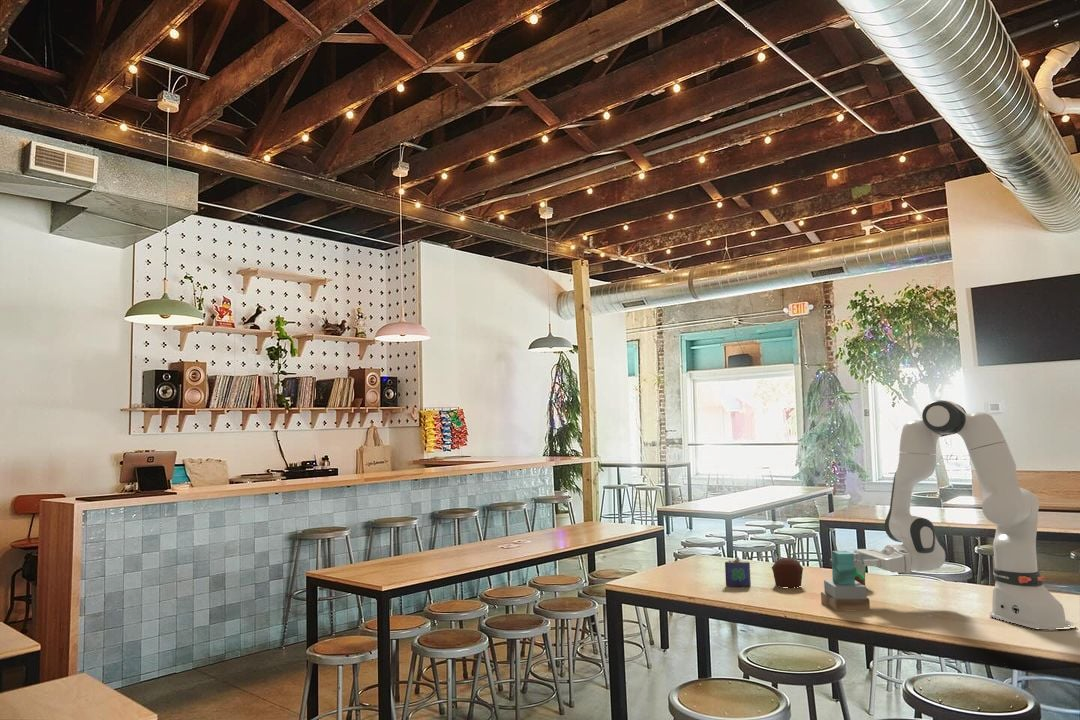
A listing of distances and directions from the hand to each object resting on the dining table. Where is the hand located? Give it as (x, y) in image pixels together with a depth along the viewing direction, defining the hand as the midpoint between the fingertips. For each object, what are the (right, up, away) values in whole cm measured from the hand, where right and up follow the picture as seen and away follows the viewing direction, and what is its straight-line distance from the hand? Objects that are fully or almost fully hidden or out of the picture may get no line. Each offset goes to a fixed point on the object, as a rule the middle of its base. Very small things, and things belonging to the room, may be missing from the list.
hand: (855, 560), depth 237 cm
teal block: (-4, -7, -1) cm, 9 cm away
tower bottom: (-4, -15, -1) cm, 16 cm away
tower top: (-4, -11, -1) cm, 12 cm away
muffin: (-12, -18, +29) cm, 36 cm away
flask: (-31, -18, +30) cm, 47 cm away
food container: (+13, -17, +26) cm, 34 cm away
